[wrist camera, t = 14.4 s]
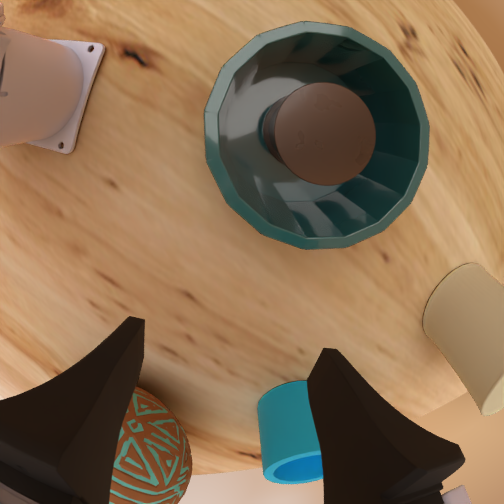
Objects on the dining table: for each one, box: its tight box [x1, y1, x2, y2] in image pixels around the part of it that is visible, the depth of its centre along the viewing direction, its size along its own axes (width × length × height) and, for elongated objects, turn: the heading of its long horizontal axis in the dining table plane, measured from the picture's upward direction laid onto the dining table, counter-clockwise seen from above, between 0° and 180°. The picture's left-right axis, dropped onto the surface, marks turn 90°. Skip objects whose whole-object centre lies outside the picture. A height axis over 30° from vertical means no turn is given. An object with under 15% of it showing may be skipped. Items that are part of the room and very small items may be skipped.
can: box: [423, 263, 504, 416], centre depth 19 cm, size 9×9×12 cm
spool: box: [263, 82, 376, 186], centre depth 14 cm, size 5×5×6 cm
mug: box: [257, 381, 323, 484], centre depth 24 cm, size 12×8×8 cm
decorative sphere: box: [109, 386, 192, 504], centre depth 20 cm, size 15×15×15 cm
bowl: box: [204, 21, 430, 250], centre depth 14 cm, size 10×10×7 cm
